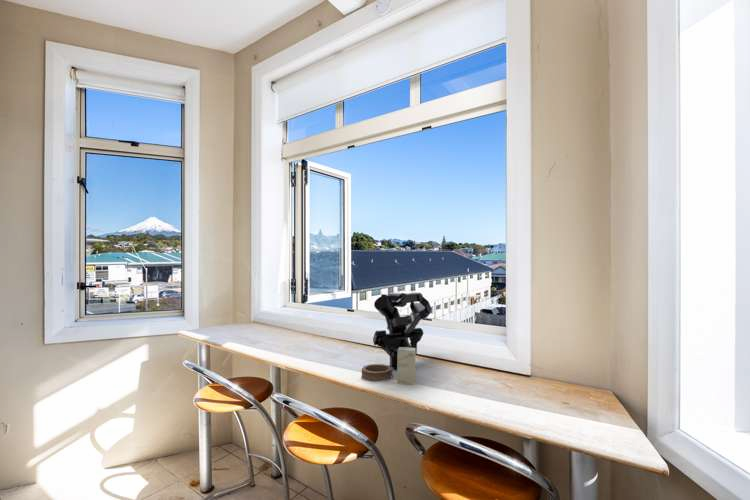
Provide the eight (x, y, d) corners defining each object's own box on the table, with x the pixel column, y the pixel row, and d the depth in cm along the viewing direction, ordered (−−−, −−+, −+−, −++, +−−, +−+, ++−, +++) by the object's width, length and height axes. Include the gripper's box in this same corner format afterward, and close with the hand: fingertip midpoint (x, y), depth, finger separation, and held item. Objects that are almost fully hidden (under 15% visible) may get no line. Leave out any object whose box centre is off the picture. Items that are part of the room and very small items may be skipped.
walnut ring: (385, 370, 146) (385, 362, 146) (396, 378, 136) (396, 370, 136) (358, 373, 143) (358, 365, 143) (367, 382, 132) (367, 374, 132)
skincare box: (396, 383, 130) (396, 349, 131) (399, 379, 135) (398, 346, 135) (414, 385, 129) (414, 350, 129) (416, 381, 133) (415, 347, 134)
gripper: (374, 309, 136) (383, 345, 125) (421, 306, 141) (434, 341, 130) (369, 326, 144) (377, 362, 133) (413, 323, 149) (425, 358, 138)
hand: (404, 356), depth 133 cm, fingers open, 9 cm apart
